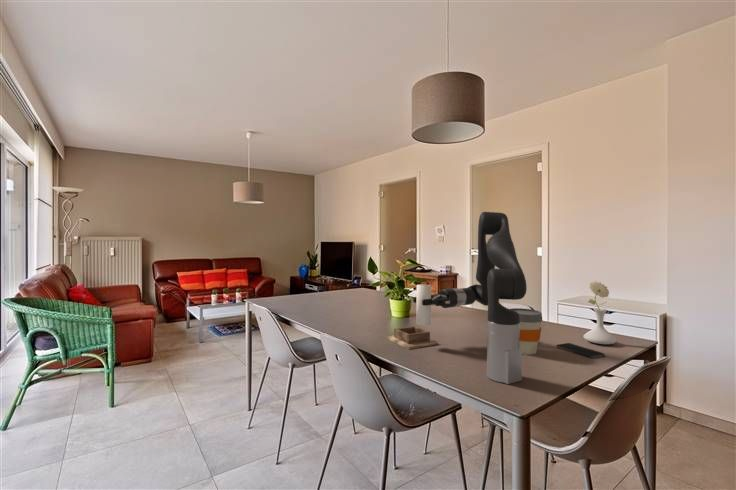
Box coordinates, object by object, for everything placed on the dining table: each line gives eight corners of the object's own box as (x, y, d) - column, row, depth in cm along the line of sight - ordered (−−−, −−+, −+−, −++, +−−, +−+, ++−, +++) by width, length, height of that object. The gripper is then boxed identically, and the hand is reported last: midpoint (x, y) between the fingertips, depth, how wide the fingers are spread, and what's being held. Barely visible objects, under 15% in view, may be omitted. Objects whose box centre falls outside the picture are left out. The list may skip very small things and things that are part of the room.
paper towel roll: (433, 324, 140) (434, 285, 140) (421, 326, 138) (422, 286, 137) (424, 321, 145) (425, 283, 145) (413, 322, 142) (413, 284, 142)
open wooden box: (437, 344, 144) (437, 333, 144) (408, 349, 138) (408, 337, 138) (414, 334, 159) (414, 324, 158) (387, 338, 152) (387, 327, 152)
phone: (591, 356, 129) (555, 344, 142) (591, 359, 129) (555, 347, 142) (606, 354, 132) (569, 342, 146) (606, 357, 132) (569, 345, 146)
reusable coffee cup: (545, 357, 130) (546, 315, 129) (508, 354, 132) (509, 314, 132) (536, 347, 142) (537, 309, 142) (503, 344, 144) (503, 307, 144)
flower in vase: (623, 347, 143) (624, 284, 142) (593, 346, 143) (595, 283, 143) (602, 337, 156) (603, 280, 155) (575, 337, 156) (576, 279, 156)
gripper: (441, 286, 154) (407, 289, 146) (464, 291, 141) (429, 294, 133) (440, 303, 154) (407, 307, 146) (464, 310, 141) (429, 314, 134)
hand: (418, 301), depth 140 cm, fingers closed on paper towel roll, 5 cm apart
